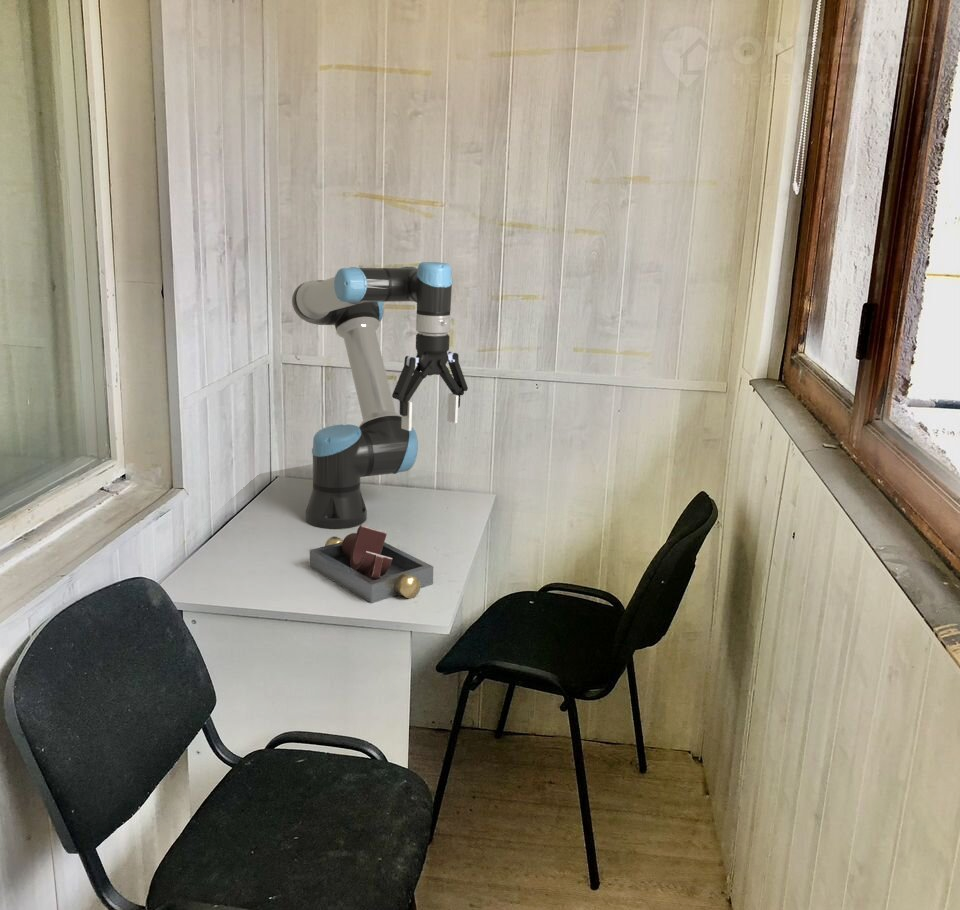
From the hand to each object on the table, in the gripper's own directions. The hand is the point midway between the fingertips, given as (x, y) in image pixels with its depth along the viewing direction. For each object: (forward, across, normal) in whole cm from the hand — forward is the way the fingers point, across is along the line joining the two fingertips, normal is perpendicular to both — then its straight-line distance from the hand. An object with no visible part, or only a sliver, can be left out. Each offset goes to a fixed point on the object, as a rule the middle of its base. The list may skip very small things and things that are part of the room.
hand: (429, 425), depth 211 cm
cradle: (+29, -22, -8) cm, 37 cm away
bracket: (+28, -22, -7) cm, 36 cm away
